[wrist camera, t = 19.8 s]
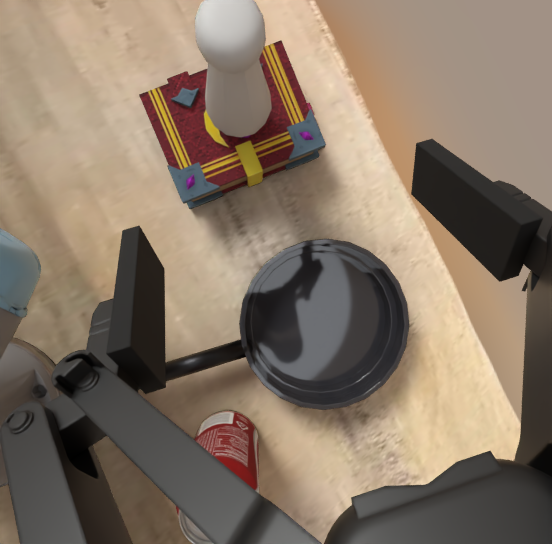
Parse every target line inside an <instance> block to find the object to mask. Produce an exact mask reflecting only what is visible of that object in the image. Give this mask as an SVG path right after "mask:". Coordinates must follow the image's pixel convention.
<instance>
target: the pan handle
mask: <svg viewBox="0 0 552 544" xmlns="http://www.w3.org/2000/svg"><path fill="white" fill-rule="evenodd" d="M247 347H248V349H249V351H250V353H252V350H253V345H252V343H251V342H250V341H249V340H247ZM247 347H246V346H242V343H241V340H237V341H234V342H231V343H228V344H224V345H221V346H218V347H215V348H211V349H208V350H205V351H201V352H198V353H195V354H192V355H188V356H185V357H182V358H179V359H175V360H172V361H169V362H165V372H166V381H169V380H173V379H176V378H179V377H182V376H186V375H189V374H192V373H195V372H199V371H202V370H205V369H208V368H212V367H215V366H218V365H221V364H225V363H228V362H231V361H234V360H237V359H241V358H244V357H246V355H245V353H247V351H248V349H247ZM138 390H140V388H139V387H138Z"/></svg>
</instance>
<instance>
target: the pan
mask: <svg viewBox="0 0 552 544" xmlns="http://www.w3.org/2000/svg"><path fill="white" fill-rule="evenodd" d="M239 325H240V334H241V343H242V346H246V347H247V340H249V341H250V342H251V343H252V345H253V350H252V353H250V351H249V349H248V347H247V349H248V351H247V353H245V355H246V358H247V360H248V363H249V365H250V367H251V369H252V370H253V371H254V373H255V374H256V375H257V377H258V378H259V379H260V381H261V382H262V383H263V385H264V386H266V387H267V388H268V389H269V390H271V391H272V392H273V393H275V394H276V395H277V396H279V397H280V398H282V399H283V400H286V401H288V402H291V403H293V404H295V405H298V406H300V407H304V408H312V409H320V410H327V409H334V408H341V407H347V406H349V405H352V404H354V403H356V402H359V401H361V400H364V399H366V398H367V397H369V396H370V395H371V394H373V393H374V392H375V391H376V390H378V389H379V388H380V387H382V386H383V385H384V384H385V383H386V381H387V380H388V379H389V377H390V376H391V375H392V374H393V372H394V371H395V370H396V368H397V367H398V365H399V362H400V360H401V358H402V355H403V353H404V351H405V348H406V344H407V337H408V331H409V318H408V308H407V302H406V299H405V297H404V294H403V292H402V289H401V286H400V284H399V282H398V280H397V279H396V278H395V276H394V275H393V274H392V272H391V271H390V269H389V268H388V267H387V265H386V264H385V263H383V262H382V261H381V260H380V259H378V258H377V257H376V256H375V255H373V254H372V253H371V252H370V251H368V250H366V249H364V248H361V247H359V246H357V245H355V244H352V243H350V242H346V241H339V240H333V239H319V240H310V241H304V242H301V243H299V244H296V245H294V246H291V247H289V248H286V249H284V250H282V251H281V252H279V253H278V254H277V255H275V256H274V257H273V258H271V259H270V260H268V261H267V262H266V263H265V264H264V265H263V266H262V267H261V269H260V270H259V271H258V272H257V274H256V275H255V276H254V277H253V279H252V281H251V283H250V285H249V287H248V290H247V292H246V294H245V297H244V299H243V303H242V309H241V316H240V323H239Z"/></svg>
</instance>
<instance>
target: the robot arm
mask: <svg viewBox="0 0 552 544" xmlns="http://www.w3.org/2000/svg"><path fill="white" fill-rule="evenodd" d="M411 194H412V195H413V196H414V197H415V198H416V199H417V200H418V201H419V202H420V203H421V204H422V205H423V206H424V207H425V208H426V209H427V210H428V211H429V212H430V213H431V214H432V215H433V216H434V217H435V218H436V219H437V220H438V221H439V222H440V223H441V224H442V225H443V226H444V227H445V228H446V229H447V230H448V231H449V232H450V233H451V234H452V235H453V236H454V237H455V238H456V239H457V240H458V241H459V242H460V243H461V244H462V245H463V246H464V247H465V248H466V249H467V250H468V251H469V252H470V253H471V254H472V255H473V256H474V257H475V258H476V259H477V260H478V261H479V262H480V263H481V264H482V265H483V266H484V267H485V268H486V269H487V270H488V271H489V272H490V273H492V275H493V276H494V277H495V278H496V279H497V280H499V281H503V280H507V279H510V278H513V277H516V276H519V273H520V271H521V269H522V266H523V264H524V265H525V266H526V267H527V268H529V269H530V270H531V271H530V273H529V275H528V278H527V280H526V282H525V284H524V286H523V289H522V291H526V288H527V306H526V328H525V329H526V330H525V351H524V371H523V372H524V373H523V392H522V415H521V435H520V442H519V445H518V448H517V451H516V455H515V460H514V461H510V460H503V459H495V457H494V456H493V454H492V453H491V451H488V452H485V453H482V454H479V455H476V456H473V457H470V458H467V459H464V460H461V461H458V462H456V463H455V464H453V465H452V466H451V467H450V468H448V469H447V470H446V471H444V472H443V473H442V474H440V475H439V476H438V477H437V478H435V479H434V480H433V481H431V482H430V483H428V484H426V485H405V486H384V487H381V488H378V489H375V490H372V491H369V492H366V493H363V494H360V495H357V496H354V497H352V498H351V499H352V506H350V507H349V508H348V509H347V510H345V511H344V512H343V513H342V514H341V515H340V516H339V517H338V519H337V520H336V522H335V523H334V524H333V526H332V528H331V530H330V531H329V533H328V535H327V538H326V540H325V543H324V544H552V211H550V210H549V209H547V208H546V207H544V206H543V205H541V204H540V203H538V202H537V201H535V200H534V199H531V197H530V196H528V195H527V194H525V193H524V194H523V192H522V191H521V190H519V189H518V188H516V187H515V186H513V185H511V184H508V183H505V182H502V181H496V182H492V181H491V180H489V179H488V178H486V177H485V176H483V175H482V174H481V173H479V172H478V171H476V170H475V169H474V168H472V167H471V166H469V165H468V164H467V163H465V162H464V161H463V160H461V159H459V158H458V157H457V156H455V155H454V154H453V153H451V152H450V151H448V150H447V149H445V148H444V147H443V146H441V145H440V144H439V143H437V142H436V141H434V140H433V139H430V140H426V141H423V142H419V143H417V144H416V152H415V162H414V172H413V183H412V192H411ZM40 273H41V265H40V262H39V259H38V257H37V255H36V254H35V253H34V252H33V250H32V249H31V248H29V247H28V246H27V245H26V244H24V243H23V242H22V241H20V240H19V239H17V238H16V237H14V236H12V235H11V234H9V233H8V232H6V231H4V230H2V229H1V228H0V487H2V486H5V485H7V484H9V489H10V494H11V499H12V505H13V510H14V515H15V520H16V525H17V530H18V535H19V540H20V544H133V543H132V541H131V538H130V536H129V533H128V531H127V528H126V526H125V524H124V521H123V519H122V516H121V514H120V511H119V509H118V506H117V504H116V502H115V499H114V497H113V494H112V492H111V489H110V487H109V484H108V482H107V480H106V477H105V475H104V472H103V470H102V467H101V465H100V462H99V460H98V458H97V455H96V453H95V450H94V448H93V444H95V443H96V442H98V441H99V440H101V439H102V438H104V437H105V436H108V437H109V438H110V439H111V440H112V441H113V442H114V443H115V445H116V446H117V447H118V448H119V449H120V450H121V451H122V452H123V453H124V454H125V455H126V456H127V457H128V458H129V459H130V460H131V461H132V462H133V463H134V464H135V465H136V466H137V467H138V468H139V469H140V470H141V471H142V472H143V473H144V474H145V475H146V476H147V477H148V478H149V479H150V480H151V481H152V482H153V483H154V484H155V485H156V486H157V487H158V488H159V489H160V490H161V491H162V492H163V493H164V494H165V495H166V496H167V497H168V498H169V499H170V500H171V501H172V502H173V503H174V504H175V505H176V506H177V507H178V508H179V509H180V510H181V511H182V512H183V513H184V514H185V515H186V516H187V517H188V518H189V519H190V520H191V521H192V522H193V524H194V525H195V526H196V527H197V528H198V529H199V530H200V531H201V532H202V533H203V534H204V535H205V536H206V537H207V538H208V539H209V540H210V541H211V542H212V543H213V544H322V543H321V542H319V541H318V540H317V539H316V538H315V537H313V536H312V535H311V534H310V533H308V532H307V531H306V530H305V529H304V528H302V527H301V526H300V525H299V524H298V523H296V522H295V521H294V520H293V519H292V518H290V517H289V516H288V515H287V514H285V513H284V512H283V511H282V510H281V509H279V508H278V507H277V506H276V505H274V504H273V503H272V502H270V501H269V500H267V499H266V498H264V497H263V496H261V495H260V494H259V493H258V492H257V491H255V490H254V489H253V488H252V487H251V486H249V485H248V484H247V483H246V482H244V481H243V480H242V479H241V478H240V477H238V476H237V475H236V474H235V473H234V472H232V471H231V470H230V469H229V468H228V467H226V466H225V465H224V464H223V463H222V462H220V461H219V460H218V459H217V458H216V457H214V456H213V455H212V454H211V453H210V452H208V451H207V450H206V449H205V448H203V447H202V446H201V445H200V444H199V443H197V442H196V441H195V440H194V439H193V438H191V437H190V436H189V435H188V434H187V433H185V432H184V431H183V430H182V429H181V428H179V427H178V426H177V425H176V424H175V423H173V422H172V421H171V420H170V419H169V418H167V417H166V416H165V415H164V414H162V413H161V412H160V411H159V410H158V409H156V408H155V407H154V406H153V405H152V404H150V403H149V402H148V401H147V400H146V399H144V398H143V397H142V396H141V395H140V394H138V387H139V388H140V389H141V390H142V391H143V392H144V393H145V394H147V393H150V392H153V391H156V390H160V389H163V388H166V372H165V282H164V267H163V266H162V264H161V262H160V260H159V259H158V257H157V255H156V254H155V252H154V250H153V248H152V247H151V245H150V243H149V241H148V240H147V238H146V236H145V234H144V233H143V231H142V229H141V228H140V226H136V227H133V228H130V229H126V230H123V231H122V239H121V246H120V254H119V261H118V269H117V276H116V284H115V291H114V299H111V300H107V301H104V302H101V303H99V305H98V307H97V308H96V310H95V311H94V313H93V316H92V321H91V327H90V332H89V335H90V336H89V338H88V343H87V348H86V350H78V351H75V352H73V353H70V354H69V355H67V356H66V357H65V358H63V359H62V360H61V361H60V362H59V363H58V364H57V365H56V366H55V365H54V364H53V362H52V361H51V360H50V359H49V358H48V357H47V356H46V355H45V354H44V353H43V352H41V351H40V350H39V349H37V348H36V347H34V346H33V345H31V344H29V343H27V342H25V341H22V340H20V339H17V338H13V335H14V333H15V331H16V329H17V327H18V325H19V324H20V322H21V320H22V318H24V317H25V316H26V315H27V308H26V306H27V304H28V302H29V300H30V298H31V295H32V293H33V291H34V289H35V286H36V284H37V282H38V280H39V278H40Z"/></svg>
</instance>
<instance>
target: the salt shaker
mask: <svg viewBox="0 0 552 544" xmlns="http://www.w3.org/2000/svg"><path fill="white" fill-rule="evenodd" d="M195 31H196V42H197V45H198V48H199V50H200V51H201V53H202V55H203V56H204V58H205V60H206V61H207V62H208V71H207V82H206V93H205V102H206V112H207V114H208V116H209V117H210V119H211V121H212V123H213V124H214V126H215V127H216V128H218V129H219V130H220V131H222V132H223V133H225V134H226V135H229V136H235V137H244V136H248V135H252V134H255V133H256V132H257V131H258V130H259V129H260V128H261V127H262V126H263V125H265V123H266V121H267V118H268V116H269V114H270V111H271V109H272V107H271V96H270V91H269V88H268V85H267V82H266V79H265V76H264V73H263V70H262V67H261V64H260V61H259V58H260V55H261V53H262V50H263V48H264V46H265V40H266V37H265V25H264V19H263V15H262V13H261V12H260V10H259V8H258V6H257V4H256V2H255V1H253V0H204V1H203V2H202V3H201V4H200V7H199V9H198V12H197V14H196V17H195Z"/></svg>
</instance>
